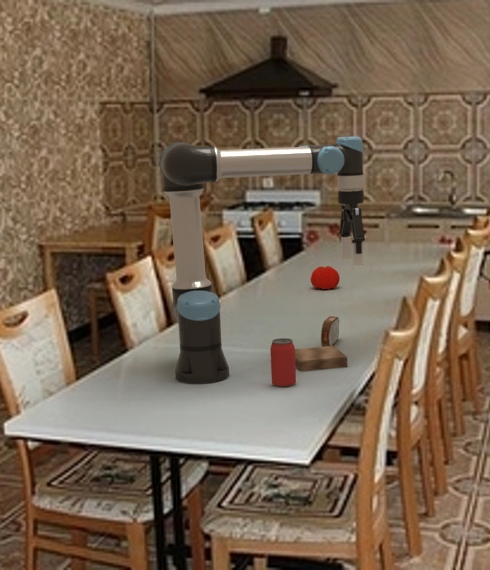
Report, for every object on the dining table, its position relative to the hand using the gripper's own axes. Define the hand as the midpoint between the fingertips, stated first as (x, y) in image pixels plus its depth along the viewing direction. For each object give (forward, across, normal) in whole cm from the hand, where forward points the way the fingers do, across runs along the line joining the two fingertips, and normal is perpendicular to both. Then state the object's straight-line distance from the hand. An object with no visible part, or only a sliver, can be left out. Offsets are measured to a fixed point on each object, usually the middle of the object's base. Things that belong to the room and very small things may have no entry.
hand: (352, 261), depth 284 cm
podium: (+28, -10, +14) cm, 32 cm away
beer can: (+28, -28, +27) cm, 48 cm away
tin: (+28, +11, +4) cm, 30 cm away
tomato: (+28, +106, -16) cm, 111 cm away
